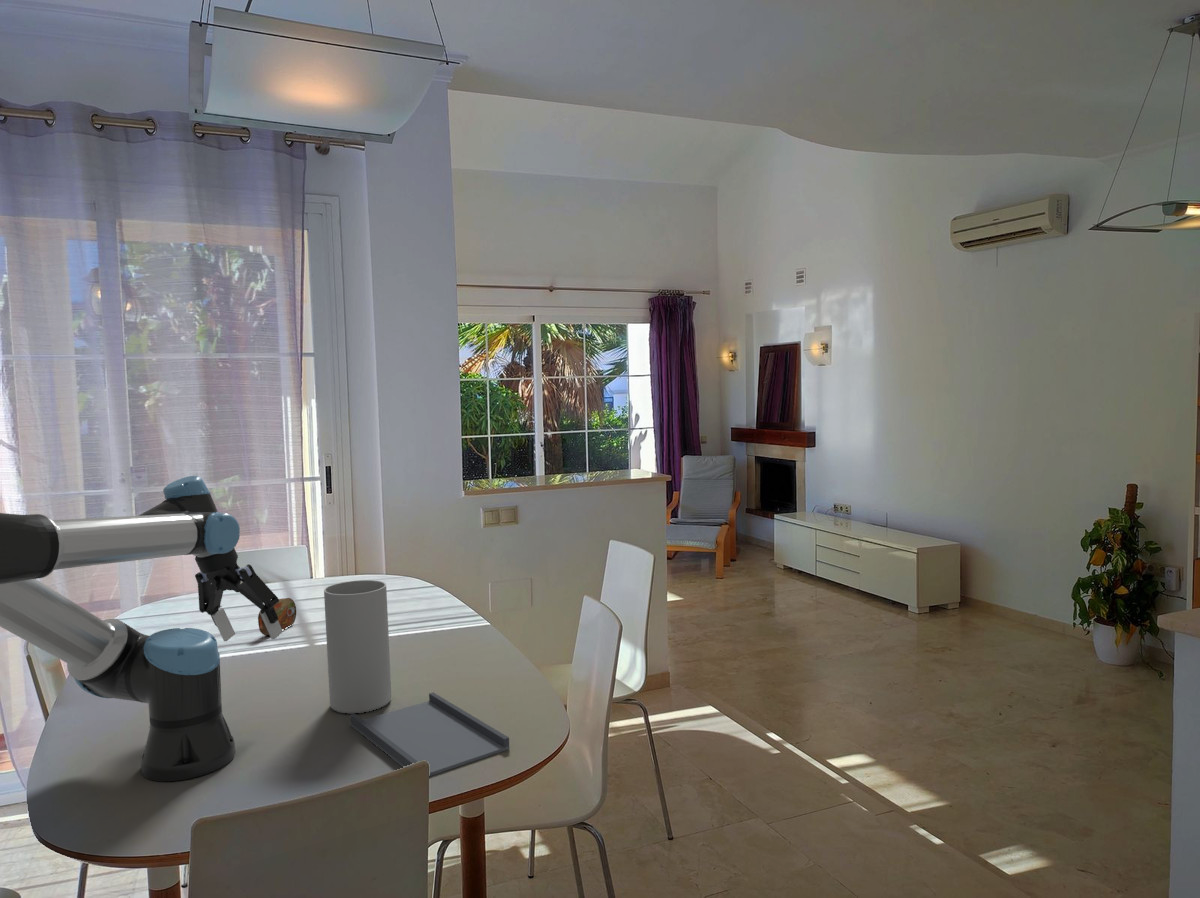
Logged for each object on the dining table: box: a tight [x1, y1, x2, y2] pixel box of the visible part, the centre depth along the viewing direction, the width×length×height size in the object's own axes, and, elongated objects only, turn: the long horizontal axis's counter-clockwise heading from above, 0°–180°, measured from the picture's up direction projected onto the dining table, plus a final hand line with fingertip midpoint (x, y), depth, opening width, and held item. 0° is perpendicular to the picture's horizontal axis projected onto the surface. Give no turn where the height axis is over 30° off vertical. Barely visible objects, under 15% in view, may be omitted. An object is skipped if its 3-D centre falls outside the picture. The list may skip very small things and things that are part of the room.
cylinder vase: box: [323, 579, 392, 715], centre depth 175 cm, size 12×12×25 cm
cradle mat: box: [349, 691, 510, 777], centre depth 158 cm, size 30×18×2 cm, turn 38°
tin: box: [257, 597, 297, 636], centre depth 231 cm, size 15×3×8 cm, turn 168°
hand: (253, 636), depth 176 cm, fingers open, 13 cm apart
